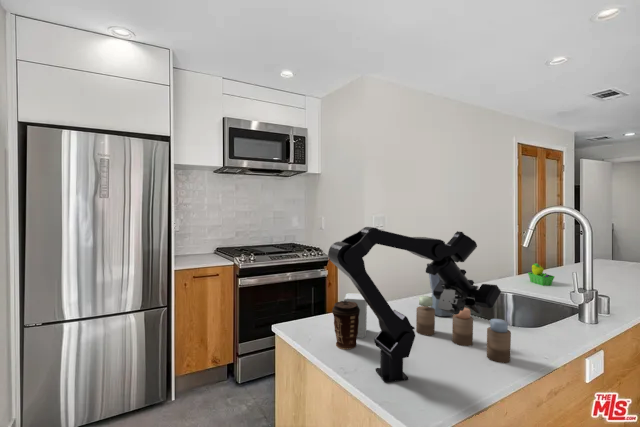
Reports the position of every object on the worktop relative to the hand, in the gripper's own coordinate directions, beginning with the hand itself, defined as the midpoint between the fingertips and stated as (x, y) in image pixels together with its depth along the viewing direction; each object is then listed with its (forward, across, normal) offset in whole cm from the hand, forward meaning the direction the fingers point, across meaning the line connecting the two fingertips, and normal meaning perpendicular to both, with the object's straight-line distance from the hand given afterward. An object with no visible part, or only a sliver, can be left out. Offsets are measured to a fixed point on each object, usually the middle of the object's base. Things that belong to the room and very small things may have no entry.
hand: (479, 312), depth 96 cm
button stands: (+12, -11, -5) cm, 17 cm away
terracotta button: (+6, -11, +1) cm, 12 cm away
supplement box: (-7, -34, -22) cm, 41 cm away
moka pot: (+21, -34, +9) cm, 41 cm away
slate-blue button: (+7, +2, 0) cm, 8 cm away
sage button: (+1, -22, 0) cm, 22 cm away
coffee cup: (-11, -26, -29) cm, 41 cm away
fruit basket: (+77, -46, +76) cm, 117 cm away
